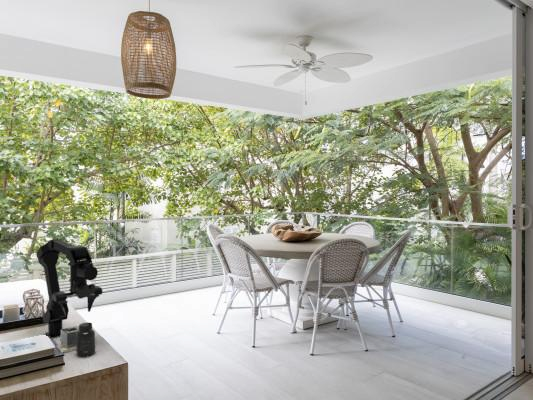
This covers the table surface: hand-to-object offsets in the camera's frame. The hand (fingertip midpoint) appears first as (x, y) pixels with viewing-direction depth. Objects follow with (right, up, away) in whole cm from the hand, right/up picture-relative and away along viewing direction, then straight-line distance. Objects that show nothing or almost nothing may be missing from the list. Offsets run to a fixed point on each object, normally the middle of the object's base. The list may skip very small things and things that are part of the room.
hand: (78, 313), depth 177 cm
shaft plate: (-1, -13, -3) cm, 13 cm away
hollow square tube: (-1, -12, -3) cm, 12 cm away
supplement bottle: (+8, -14, -10) cm, 18 cm away
